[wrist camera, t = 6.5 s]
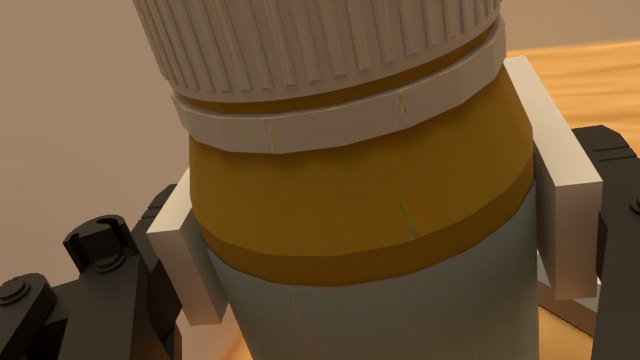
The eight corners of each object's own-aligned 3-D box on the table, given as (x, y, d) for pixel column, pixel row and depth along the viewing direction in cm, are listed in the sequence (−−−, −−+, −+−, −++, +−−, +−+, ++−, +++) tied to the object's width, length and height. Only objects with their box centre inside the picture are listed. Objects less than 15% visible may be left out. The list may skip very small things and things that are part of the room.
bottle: (537, 362, 18) (525, -162, 10) (546, 610, 12) (532, -136, 5) (339, 343, 20) (214, -86, 13) (271, 541, 15) (-19, -11, 7)
